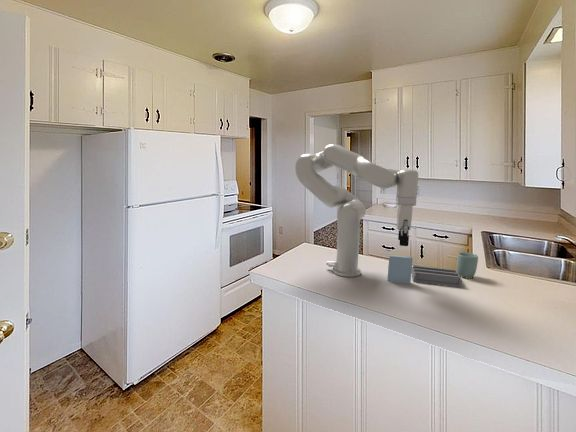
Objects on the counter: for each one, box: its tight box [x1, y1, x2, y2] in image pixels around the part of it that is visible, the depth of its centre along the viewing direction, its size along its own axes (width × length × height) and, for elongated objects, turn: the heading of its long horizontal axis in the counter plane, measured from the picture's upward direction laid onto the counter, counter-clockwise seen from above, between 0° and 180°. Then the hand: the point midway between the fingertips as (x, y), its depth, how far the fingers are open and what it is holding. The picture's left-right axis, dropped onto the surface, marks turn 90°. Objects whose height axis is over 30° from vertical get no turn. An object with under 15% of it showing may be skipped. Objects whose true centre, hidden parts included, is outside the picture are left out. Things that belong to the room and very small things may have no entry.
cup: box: [456, 251, 479, 279], centre depth 138 cm, size 8×8×10 cm
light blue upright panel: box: [386, 254, 414, 285], centre depth 130 cm, size 9×2×11 cm, turn 74°
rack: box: [411, 264, 463, 288], centre depth 133 cm, size 18×11×4 cm, turn 74°
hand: (402, 242), depth 127 cm, fingers open, 9 cm apart
